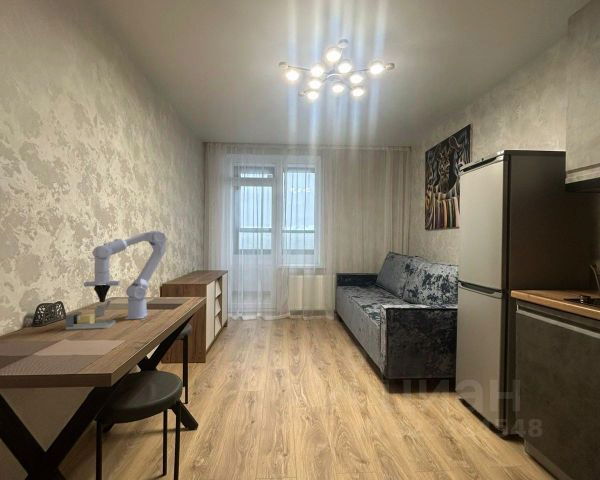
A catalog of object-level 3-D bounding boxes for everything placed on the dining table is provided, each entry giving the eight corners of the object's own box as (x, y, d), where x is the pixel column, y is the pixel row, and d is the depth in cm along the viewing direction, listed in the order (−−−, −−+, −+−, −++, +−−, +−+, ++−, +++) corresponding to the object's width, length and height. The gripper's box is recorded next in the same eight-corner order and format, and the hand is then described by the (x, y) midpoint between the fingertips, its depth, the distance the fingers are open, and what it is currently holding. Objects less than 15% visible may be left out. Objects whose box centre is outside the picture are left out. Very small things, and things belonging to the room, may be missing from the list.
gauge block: (82, 322, 140) (82, 313, 140) (94, 322, 141) (94, 313, 141) (76, 325, 136) (76, 316, 136) (89, 325, 136) (89, 316, 136)
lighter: (94, 316, 157) (94, 300, 157) (95, 315, 159) (95, 299, 158) (111, 315, 160) (111, 299, 160) (111, 314, 162) (111, 298, 162)
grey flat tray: (76, 324, 143) (76, 319, 143) (116, 322, 146) (116, 317, 146) (65, 329, 135) (65, 324, 135) (107, 327, 137) (107, 322, 137)
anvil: (74, 323, 141) (74, 312, 141) (81, 323, 141) (81, 311, 141) (65, 327, 135) (65, 315, 135) (73, 327, 135) (73, 315, 135)
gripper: (79, 273, 139) (80, 304, 139) (115, 272, 141) (116, 302, 142) (87, 271, 146) (88, 301, 146) (121, 270, 148) (122, 299, 149)
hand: (102, 301), depth 144 cm, fingers closed
